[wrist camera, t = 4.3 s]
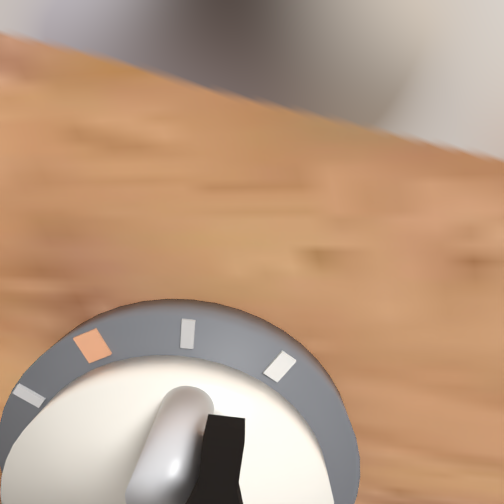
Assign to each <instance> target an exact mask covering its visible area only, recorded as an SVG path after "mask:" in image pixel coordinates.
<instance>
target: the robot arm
mask: <svg viewBox="0 0 504 504" xmlns="http://www.w3.org/2000/svg"><path fill="white" fill-rule="evenodd" d="M244 444H245V418H239V417H230V416H222V415H213V414H208V418H207V422H206V426H205V430H204V434H203V441H202V451H201V460H200V470H199V477H198V479H197V482H196V484H195V486H194V488H193V490H192V492H191V494H190V496H189V498H188V500H187V501H186V503H185V504H243V500H242V495H241V490H240V485H239V477H240V470H241V464H242V457H243V450H244Z"/></svg>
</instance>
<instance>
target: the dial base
mask: <svg viewBox="0 0 504 504" xmlns="http://www.w3.org/2000/svg"><path fill="white" fill-rule="evenodd" d="M153 355H175V356H185V357H193V358H200V359H204V360H208V361H212V362H217V363H221V364H224V365H226V366H229V367H232V368H234V369H237V370H240V371H242V372H244V373H246V374H248V375H250V376H252V377H254V378H256V379H258V380H260V381H262V382H263V383H265V384H266V385H268V386H269V387H271V388H272V389H274V390H275V391H277V392H278V393H279V394H280V395H282V396H283V397H284V398H285V399H286V400H287V401H288V402H290V403H291V404H292V405H293V406H294V407H295V408H296V409H297V411H298V412H299V413H300V414H301V415H302V416H303V418H304V419H305V420H306V421H307V423H308V425H309V426H310V428H311V429H312V431H313V432H314V434H315V436H316V438H317V440H318V443H319V445H320V447H321V450H322V453H323V457H324V461H325V465H326V469H327V473H328V478H329V482H330V486H331V491H332V495H333V499H334V504H354V503H355V500H356V497H357V493H358V486H359V480H360V456H359V451H358V446H357V441H356V437H355V434H354V431H353V429H352V426H351V423H350V420H349V418H348V415H347V412H346V409H345V407H344V404H343V401H342V399H341V396H340V393H339V391H338V390H337V388H336V386H335V384H334V382H333V381H332V379H331V377H330V375H329V374H328V373H327V372H326V370H325V369H324V368H323V366H322V365H321V364H320V362H319V361H318V360H317V359H316V358H315V357H314V356H313V355H312V354H311V353H310V352H309V351H308V350H307V349H306V348H305V347H304V346H303V345H302V344H301V343H299V342H298V341H297V340H295V339H294V338H293V337H291V336H290V335H289V334H287V333H286V332H284V331H283V330H281V329H280V328H278V327H276V326H274V325H272V324H271V323H269V322H267V321H265V320H264V319H261V318H259V317H257V316H254V315H252V314H249V313H247V312H244V311H242V310H239V309H235V308H232V307H228V306H224V305H221V304H217V303H211V302H204V301H197V300H185V299H162V300H152V301H142V302H138V303H134V304H129V305H125V306H120V307H118V308H115V309H112V310H109V311H107V312H104V313H101V314H99V315H97V316H95V317H93V318H91V319H89V320H87V321H86V322H84V323H82V324H80V325H79V326H77V327H76V328H75V329H73V330H72V331H71V332H69V333H68V334H66V335H65V336H64V337H63V338H61V339H60V340H59V341H58V342H57V343H56V344H54V345H53V346H52V347H51V348H50V349H49V350H47V351H46V352H45V353H44V354H43V355H42V356H40V357H39V358H38V359H37V360H36V361H35V362H34V363H33V364H32V365H31V366H30V367H29V369H28V370H27V371H26V372H25V373H24V374H23V375H22V377H21V378H20V380H19V381H18V383H17V384H16V385H15V387H14V388H13V390H12V392H11V394H10V396H9V398H8V401H7V403H6V405H5V407H4V410H3V414H2V418H1V422H0V467H1V471H2V473H3V469H4V465H5V461H6V459H7V457H8V455H9V453H10V450H11V448H12V446H13V444H14V443H15V442H16V440H17V439H18V437H19V436H20V434H21V433H22V432H23V430H24V429H25V428H26V427H27V426H28V425H29V424H30V422H31V421H32V420H33V419H34V418H35V417H36V416H37V415H38V414H39V412H40V411H41V410H42V409H43V408H44V407H45V406H46V405H47V404H48V402H49V401H50V400H51V399H52V398H53V397H54V396H55V395H56V394H57V393H58V392H59V391H60V390H61V389H63V388H64V387H65V386H67V385H68V384H69V383H71V382H72V381H74V380H75V379H76V378H78V377H80V376H82V375H84V374H86V373H87V372H89V371H91V370H93V369H95V368H98V367H101V366H104V365H106V364H109V363H112V362H116V361H120V360H124V359H129V358H133V357H143V356H153Z"/></svg>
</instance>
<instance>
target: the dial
mask: <svg viewBox="0 0 504 504" xmlns="http://www.w3.org/2000/svg"><path fill="white" fill-rule="evenodd" d="M208 414H213V415H222V416H230V417H239V418H245V444H244V450H243V457H242V464H241V470H240V477H239V485H240V490H241V495H242V500H243V504H334V499H333V495H332V491H331V486H330V482H329V478H328V473H327V469H326V465H325V461H324V457H323V453H322V450H321V447H320V445H319V443H318V440H317V438H316V436H315V434H314V432H313V431H312V429H311V428H310V426H309V425H308V423H307V421H306V420H305V419H304V418H303V416H302V415H301V414H300V413H299V412H298V411H297V409H296V408H295V407H294V406H293V405H292V404H291V403H290V402H288V401H287V400H286V399H285V398H284V397H283V396H282V395H280V394H279V393H278V392H277V391H275V390H274V389H272V388H271V387H269V386H268V385H266V384H265V383H263V382H262V381H260V380H258V379H256V378H254V377H252V376H250V375H248V374H246V373H244V372H242V371H240V370H237V369H234V368H232V367H229V366H226V365H224V364H221V363H217V362H212V361H208V360H204V359H200V358H193V357H185V356H175V355H153V356H143V357H133V358H129V359H124V360H120V361H116V362H112V363H109V364H106V365H104V366H101V367H98V368H95V369H93V370H91V371H89V372H87V373H86V374H84V375H82V376H80V377H78V378H76V379H75V380H74V381H72V382H71V383H69V384H68V385H67V386H65V387H64V388H63V389H61V390H60V391H59V392H58V393H57V394H56V395H55V396H54V397H53V398H52V399H51V400H50V401H49V402H48V404H47V405H46V406H45V407H44V408H43V409H42V410H41V411H40V412H39V414H38V415H37V416H36V417H35V418H34V419H33V420H32V421H31V422H30V424H29V425H28V426H27V427H26V428H25V429H24V430H23V432H22V433H21V434H20V436H19V437H18V439H17V440H16V442H15V443H14V444H13V446H12V448H11V450H10V453H9V455H8V457H7V459H6V461H5V465H4V469H3V473H2V478H1V502H2V504H185V503H186V501H187V500H188V498H189V496H190V494H191V492H192V490H193V488H194V486H195V484H196V482H197V479H198V477H199V470H200V460H201V451H202V441H203V434H204V430H205V426H206V422H207V418H208Z"/></svg>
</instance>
